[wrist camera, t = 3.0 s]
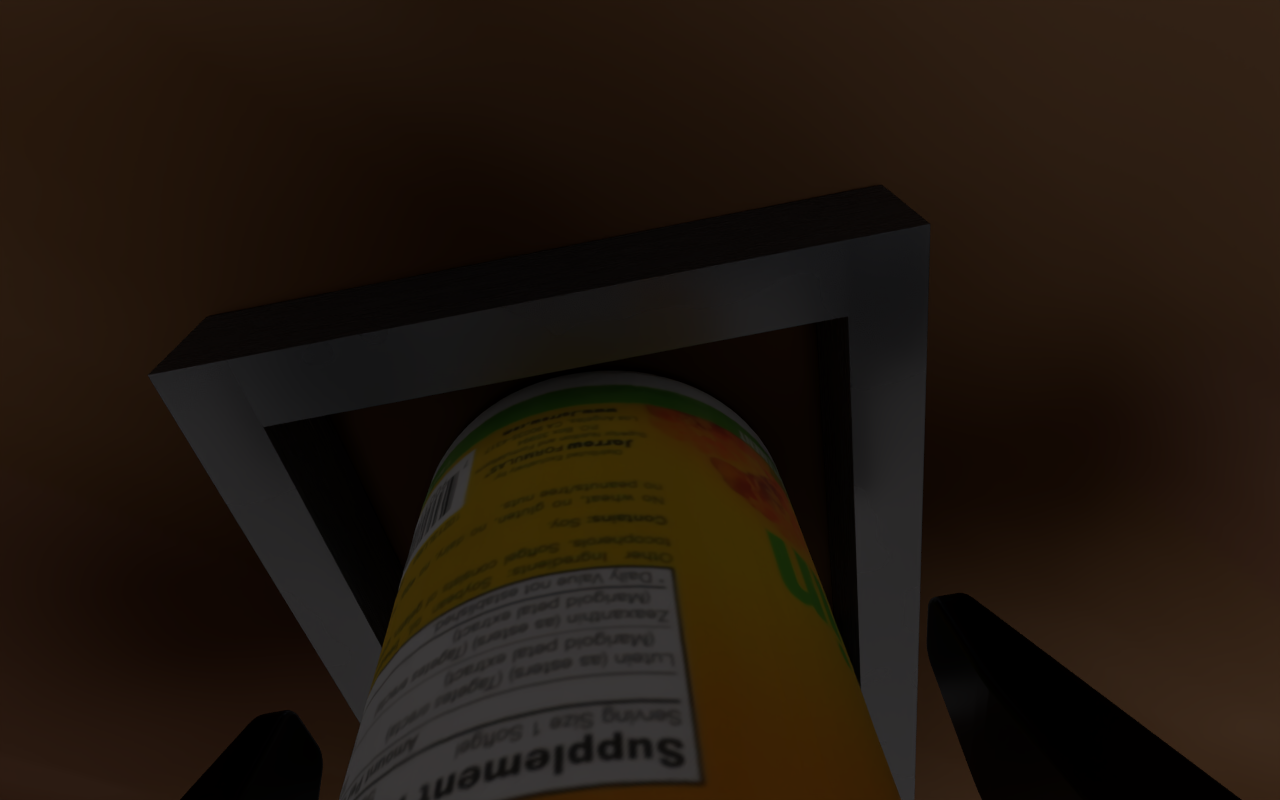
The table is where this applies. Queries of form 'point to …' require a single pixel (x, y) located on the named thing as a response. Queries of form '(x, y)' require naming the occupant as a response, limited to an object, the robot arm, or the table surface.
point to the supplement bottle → (612, 617)
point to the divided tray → (570, 338)
